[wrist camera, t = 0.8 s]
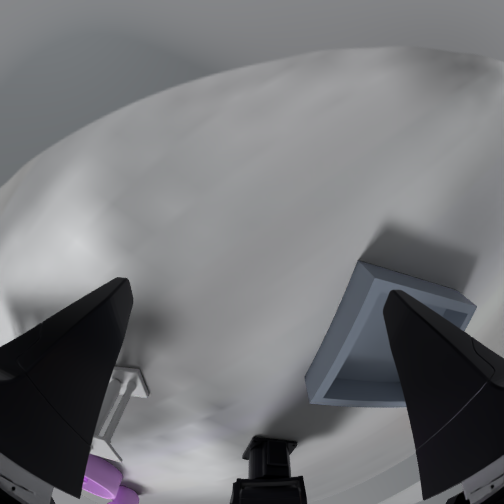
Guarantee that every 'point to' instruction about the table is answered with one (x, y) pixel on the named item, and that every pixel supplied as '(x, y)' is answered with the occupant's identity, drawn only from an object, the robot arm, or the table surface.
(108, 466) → the container set
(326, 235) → the table surface
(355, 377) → the large crate
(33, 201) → the table surface
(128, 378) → the test tube rack
